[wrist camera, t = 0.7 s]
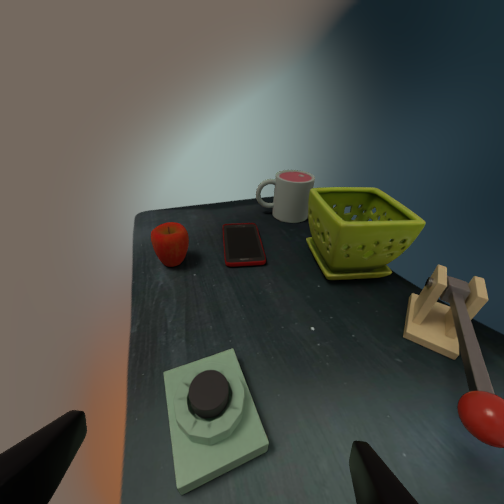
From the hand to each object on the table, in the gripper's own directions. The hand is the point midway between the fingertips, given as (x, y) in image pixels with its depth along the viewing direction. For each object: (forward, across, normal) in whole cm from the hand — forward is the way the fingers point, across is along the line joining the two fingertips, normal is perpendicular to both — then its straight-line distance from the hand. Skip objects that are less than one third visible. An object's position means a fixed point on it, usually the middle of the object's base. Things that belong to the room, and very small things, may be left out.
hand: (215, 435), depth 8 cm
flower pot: (+40, -17, +4) cm, 43 cm away
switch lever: (+17, -21, +6) cm, 28 cm away
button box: (+14, +3, +15) cm, 20 cm away
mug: (+58, -5, -3) cm, 58 cm away
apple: (+36, +15, +6) cm, 40 cm away
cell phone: (+43, +3, +3) cm, 43 cm away
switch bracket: (+27, -26, +9) cm, 39 cm away
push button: (+13, +3, +11) cm, 17 cm away
